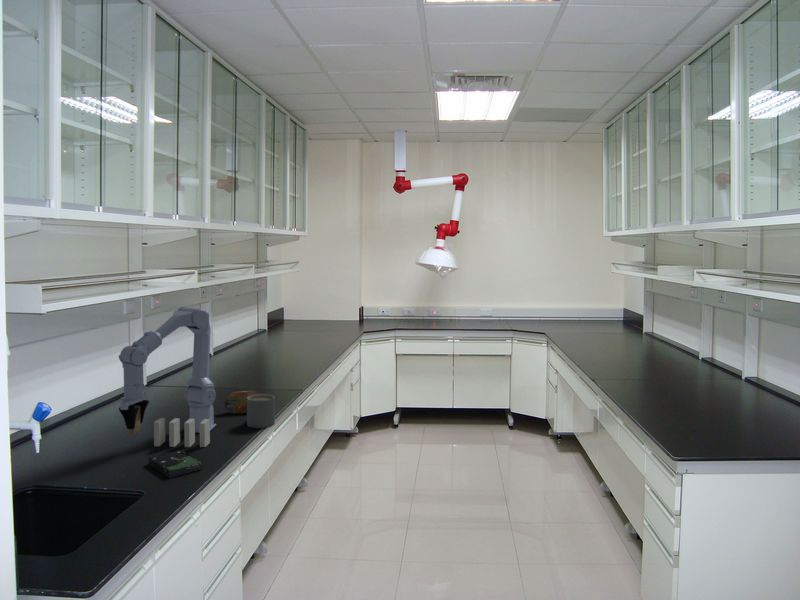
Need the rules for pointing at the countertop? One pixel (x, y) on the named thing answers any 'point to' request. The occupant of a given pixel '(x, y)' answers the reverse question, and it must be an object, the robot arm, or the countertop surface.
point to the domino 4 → (204, 432)
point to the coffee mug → (260, 411)
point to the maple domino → (137, 424)
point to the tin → (238, 401)
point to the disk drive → (175, 463)
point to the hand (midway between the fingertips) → (134, 426)
